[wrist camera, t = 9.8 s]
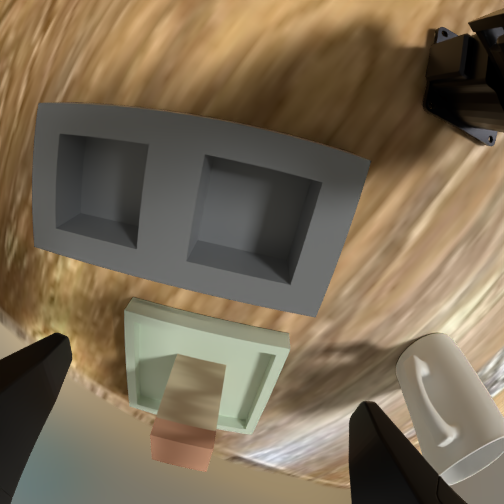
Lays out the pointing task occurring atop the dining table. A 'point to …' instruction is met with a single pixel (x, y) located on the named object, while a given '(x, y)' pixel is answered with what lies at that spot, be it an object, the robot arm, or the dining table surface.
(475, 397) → the mug
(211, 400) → the plug
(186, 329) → the tray
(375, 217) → the dining table surface
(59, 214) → the grey cinder block
